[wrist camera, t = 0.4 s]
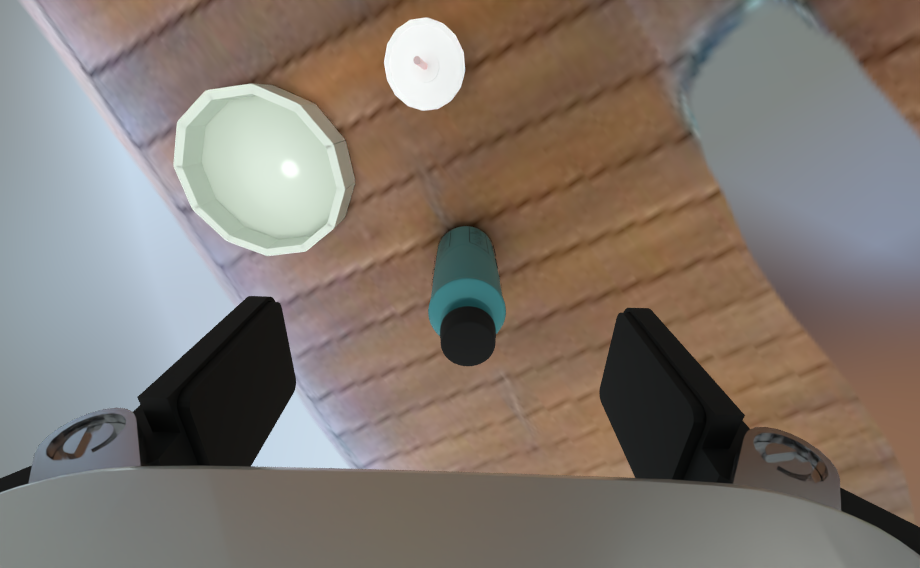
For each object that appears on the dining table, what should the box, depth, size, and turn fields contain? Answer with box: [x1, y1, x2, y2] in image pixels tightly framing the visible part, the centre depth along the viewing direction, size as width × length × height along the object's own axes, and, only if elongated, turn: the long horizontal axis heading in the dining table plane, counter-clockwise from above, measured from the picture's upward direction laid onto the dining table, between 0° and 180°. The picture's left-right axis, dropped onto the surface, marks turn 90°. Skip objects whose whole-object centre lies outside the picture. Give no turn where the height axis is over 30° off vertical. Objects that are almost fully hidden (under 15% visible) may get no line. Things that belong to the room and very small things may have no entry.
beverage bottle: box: [428, 226, 506, 366], centre depth 36 cm, size 6×7×20 cm
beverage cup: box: [384, 18, 465, 111], centre depth 31 cm, size 6×6×14 cm
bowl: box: [173, 84, 355, 256], centre depth 39 cm, size 16×16×4 cm
